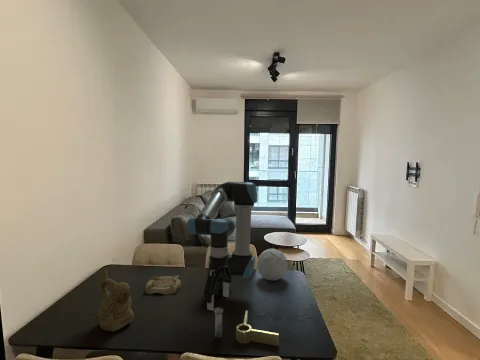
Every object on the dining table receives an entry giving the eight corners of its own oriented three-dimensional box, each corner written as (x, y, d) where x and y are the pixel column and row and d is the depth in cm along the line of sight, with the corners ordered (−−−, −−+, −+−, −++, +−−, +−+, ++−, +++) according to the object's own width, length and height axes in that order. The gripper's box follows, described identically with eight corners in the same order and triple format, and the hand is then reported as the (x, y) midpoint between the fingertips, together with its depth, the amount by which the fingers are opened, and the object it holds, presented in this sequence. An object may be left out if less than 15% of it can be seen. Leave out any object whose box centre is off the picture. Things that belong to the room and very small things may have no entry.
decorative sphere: (293, 256, 202) (286, 248, 186) (286, 286, 195) (278, 281, 179) (266, 250, 211) (257, 242, 195) (259, 278, 204) (249, 273, 188)
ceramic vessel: (112, 340, 130) (110, 283, 128) (85, 326, 140) (84, 273, 138) (143, 321, 144) (143, 271, 142) (117, 310, 154) (116, 262, 152)
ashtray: (170, 299, 167) (170, 290, 167) (135, 292, 175) (135, 284, 174) (191, 282, 190) (191, 274, 189) (158, 277, 197) (158, 269, 197)
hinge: (228, 339, 131) (228, 328, 131) (245, 319, 147) (246, 309, 146) (273, 353, 122) (273, 341, 122) (286, 330, 138) (286, 320, 137)
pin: (212, 336, 133) (212, 310, 132) (216, 332, 136) (217, 306, 135) (220, 339, 131) (220, 312, 130) (224, 334, 135) (224, 308, 134)
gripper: (211, 265, 118) (210, 318, 119) (239, 249, 140) (238, 293, 142) (195, 262, 121) (195, 313, 123) (225, 246, 143) (224, 290, 145)
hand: (218, 302), depth 132 cm, fingers open, 13 cm apart
